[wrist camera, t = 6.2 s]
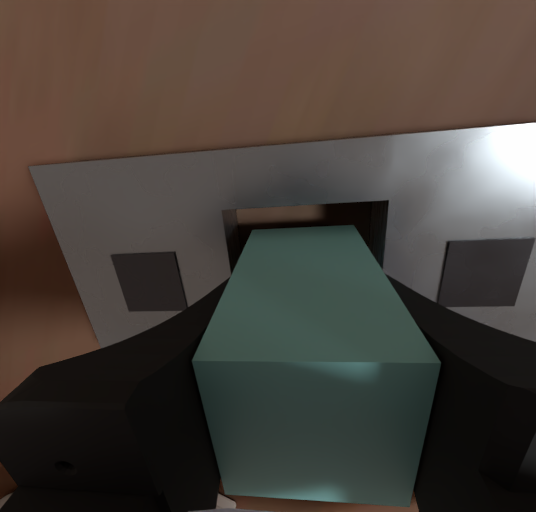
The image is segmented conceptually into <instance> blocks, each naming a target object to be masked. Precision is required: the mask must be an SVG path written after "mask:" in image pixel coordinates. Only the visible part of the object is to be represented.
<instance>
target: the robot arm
mask: <svg viewBox="0 0 536 512" xmlns="http://www.w3.org/2000/svg"><path fill="white" fill-rule="evenodd" d="M384 274H385V273H384ZM385 275H386V277H387V278H388V280H389V281H390V283H391V285H392V286H393V288H394V289H395V291H396V292H397V294H398V296H399V297H400V299H401V300H402V302H403V304H404V305H405V307H406V308H407V310H408V311H409V313H410V315H411V316H412V318H413V319H414V321H415V322H416V324H417V326H418V327H419V329H420V330H421V332H422V333H423V335H424V337H425V338H426V340H427V341H428V343H429V345H430V346H431V348H432V349H433V351H434V352H435V354H436V356H437V357H438V359H439V360H440V362H441V366H440V371H439V376H438V380H437V385H436V389H435V394H434V398H433V403H432V407H431V412H430V416H429V421H428V425H427V430H426V434H425V439H424V443H423V448H422V452H421V457H420V461H419V466H418V471H417V475H416V480H415V484H414V493H415V497H416V501H417V505H418V509H419V512H536V342H534V341H531V340H528V339H525V338H521V337H519V336H516V335H513V334H510V333H507V332H504V331H501V330H498V329H495V328H493V327H490V326H488V325H485V324H482V323H480V322H477V321H475V320H473V319H470V318H468V317H466V316H463V315H461V314H458V313H456V312H454V311H452V310H450V309H448V308H446V307H444V306H442V305H440V304H438V303H436V302H434V301H432V300H430V299H428V298H426V297H425V296H423V295H421V294H419V293H417V292H416V291H414V290H412V289H410V288H409V287H407V286H405V285H404V284H402V283H400V282H399V281H397V280H395V279H394V278H392V277H390V276H389V275H387V274H385ZM229 279H230V277H229V278H228V279H227V280H225V281H224V282H223V283H221V284H220V285H219V286H217V287H216V288H215V289H213V290H212V291H211V292H209V293H208V294H207V295H205V296H204V297H203V298H201V299H200V300H198V301H197V302H195V303H194V304H192V305H191V306H189V307H188V308H186V309H185V310H183V311H182V312H180V313H178V314H177V315H175V316H173V317H171V318H170V319H168V320H166V321H164V322H162V323H160V324H158V325H156V326H154V327H152V328H150V329H148V330H146V331H143V332H141V333H139V334H137V335H135V336H132V337H130V338H128V339H125V340H123V341H120V342H117V343H115V344H112V345H110V346H107V347H104V348H101V349H98V350H95V351H92V352H89V353H86V354H83V355H80V356H76V357H73V358H70V359H66V360H63V361H59V362H56V363H53V364H49V365H45V366H41V367H39V368H38V369H36V370H35V371H34V372H33V373H32V374H31V375H30V376H29V377H27V378H26V379H25V380H24V381H23V382H22V383H21V384H20V385H19V386H18V387H16V388H15V389H14V390H13V391H12V392H11V393H10V394H9V395H8V396H6V397H5V398H4V399H3V400H2V401H1V402H0V462H1V463H2V464H3V466H4V467H5V469H6V470H7V471H8V473H9V474H10V475H11V477H12V478H13V480H14V481H15V482H16V484H17V485H18V487H17V488H16V490H15V491H14V492H13V494H12V495H11V496H10V497H9V499H8V500H7V501H6V502H5V504H4V505H3V506H2V507H1V509H0V512H273V511H259V510H246V509H233V508H223V509H216V505H217V498H218V491H219V484H220V478H221V476H220V472H219V468H218V464H217V460H216V456H215V452H214V448H213V444H212V440H211V436H210V432H209V428H208V424H207V420H206V416H205V412H204V408H203V404H202V400H201V396H200V392H199V388H198V384H197V380H196V376H195V372H194V368H193V364H192V359H193V357H194V355H195V353H196V351H197V348H198V346H199V344H200V342H201V340H202V338H203V335H204V333H205V331H206V329H207V327H208V325H209V323H210V320H211V318H212V316H213V314H214V312H215V310H216V307H217V305H218V303H219V301H220V299H221V297H222V294H223V292H224V290H225V288H226V286H227V284H228V282H229Z"/></svg>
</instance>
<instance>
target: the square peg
mask: <svg viewBox="0 0 536 512" xmlns="http://www.w3.org/2000/svg"><path fill="white" fill-rule="evenodd" d="M192 364H193V368H194V372H195V376H196V380H197V384H198V388H199V392H200V396H201V400H202V404H203V408H204V412H205V416H206V420H207V424H208V428H209V432H210V436H211V440H212V444H213V448H214V452H215V456H216V460H217V464H218V468H219V472H220V476H221V480H222V484H223V488H224V492H225V494H227V495H241V496H256V497H271V498H285V499H300V500H314V501H329V502H343V503H358V504H372V505H387V506H402V507H410V502H411V498H412V493H413V489H414V484H415V480H416V475H417V471H418V466H419V461H420V457H421V452H422V448H423V443H424V439H425V434H426V430H427V425H428V421H429V416H430V412H431V407H432V403H433V398H434V394H435V389H436V385H437V380H438V376H439V371H440V366H441V362H440V360H439V359H438V357H437V356H436V354H435V352H434V351H433V349H432V348H431V346H430V345H429V343H428V341H427V340H426V338H425V337H424V335H423V333H422V332H421V330H420V329H419V327H418V326H417V324H416V322H415V321H414V319H413V318H412V316H411V315H410V313H409V311H408V310H407V308H406V307H405V305H404V304H403V302H402V300H401V299H400V297H399V296H398V294H397V292H396V291H395V289H394V288H393V286H392V285H391V283H390V281H389V280H388V278H387V277H386V275H385V274H384V272H383V270H382V269H381V267H380V266H379V264H378V263H377V261H376V259H375V258H374V256H373V255H372V253H371V251H370V250H369V248H368V247H367V245H366V244H365V242H364V240H363V239H362V237H361V236H360V234H359V233H358V231H357V229H356V228H355V226H354V225H341V226H321V227H300V228H280V229H259V230H252V232H251V234H250V236H249V238H248V241H247V243H246V245H245V247H244V249H243V251H242V254H241V256H240V258H239V260H238V262H237V264H236V266H235V269H234V271H233V273H232V275H231V277H230V279H229V282H228V284H227V286H226V288H225V290H224V292H223V294H222V297H221V299H220V301H219V303H218V305H217V307H216V310H215V312H214V314H213V316H212V318H211V320H210V323H209V325H208V327H207V329H206V331H205V333H204V335H203V338H202V340H201V342H200V344H199V346H198V348H197V351H196V353H195V355H194V357H193V359H192Z"/></svg>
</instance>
